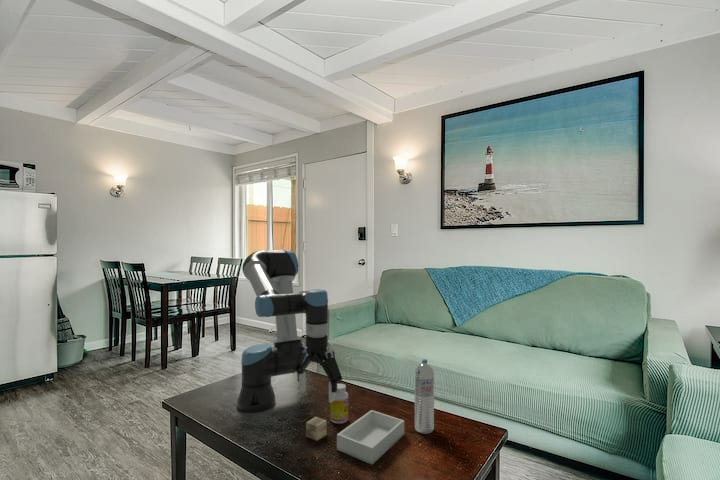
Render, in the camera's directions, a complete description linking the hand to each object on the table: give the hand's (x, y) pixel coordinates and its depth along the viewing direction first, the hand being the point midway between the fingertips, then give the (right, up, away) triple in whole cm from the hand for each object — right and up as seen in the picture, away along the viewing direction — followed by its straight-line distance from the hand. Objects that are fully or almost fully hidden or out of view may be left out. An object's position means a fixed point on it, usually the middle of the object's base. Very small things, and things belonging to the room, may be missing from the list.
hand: (316, 396), depth 128 cm
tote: (+19, -14, -4) cm, 24 cm away
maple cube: (0, -14, 0) cm, 14 cm away
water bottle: (+38, -14, +4) cm, 41 cm away
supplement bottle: (+7, -14, +11) cm, 19 cm away
